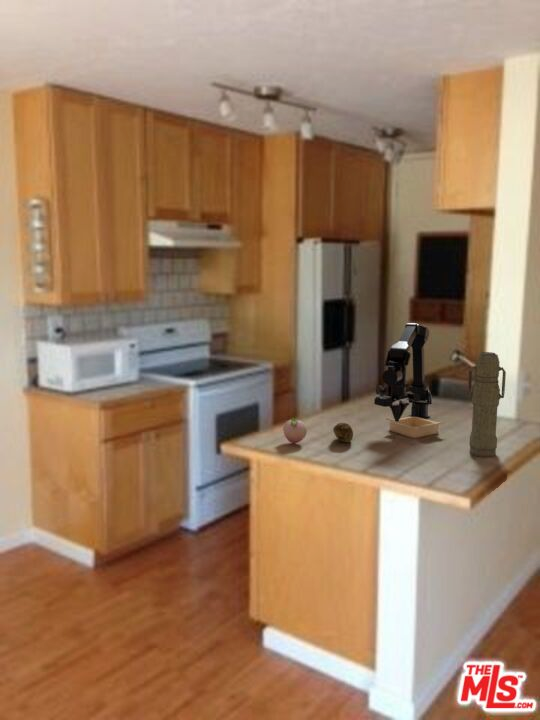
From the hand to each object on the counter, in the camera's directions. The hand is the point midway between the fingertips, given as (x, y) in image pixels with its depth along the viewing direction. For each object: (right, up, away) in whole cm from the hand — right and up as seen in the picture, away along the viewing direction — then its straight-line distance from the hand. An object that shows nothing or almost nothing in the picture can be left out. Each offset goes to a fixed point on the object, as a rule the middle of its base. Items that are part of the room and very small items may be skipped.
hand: (396, 421), depth 253 cm
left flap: (+11, -2, 0) cm, 11 cm away
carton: (+8, -5, +6) cm, 11 cm away
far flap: (+3, -1, +2) cm, 4 cm away
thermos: (+26, -9, -21) cm, 35 cm away
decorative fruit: (-39, -7, -11) cm, 41 cm away
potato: (-21, -7, -8) cm, 24 cm away
